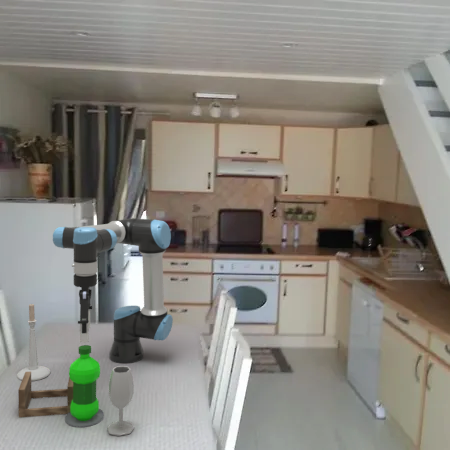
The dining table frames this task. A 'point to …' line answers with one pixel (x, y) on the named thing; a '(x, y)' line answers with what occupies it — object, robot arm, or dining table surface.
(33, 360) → the candlestick
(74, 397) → the plastic bottle
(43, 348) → the dining table surface
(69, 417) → the slate coaster
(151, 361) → the dining table surface
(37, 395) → the walnut cradle
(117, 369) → the wineglass
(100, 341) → the dining table surface
